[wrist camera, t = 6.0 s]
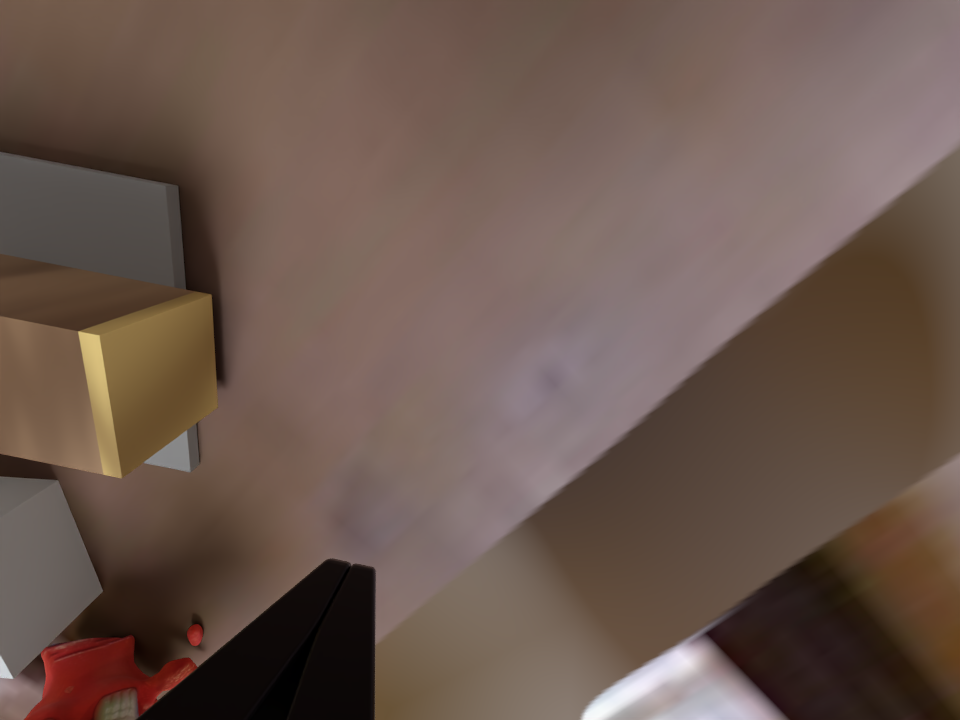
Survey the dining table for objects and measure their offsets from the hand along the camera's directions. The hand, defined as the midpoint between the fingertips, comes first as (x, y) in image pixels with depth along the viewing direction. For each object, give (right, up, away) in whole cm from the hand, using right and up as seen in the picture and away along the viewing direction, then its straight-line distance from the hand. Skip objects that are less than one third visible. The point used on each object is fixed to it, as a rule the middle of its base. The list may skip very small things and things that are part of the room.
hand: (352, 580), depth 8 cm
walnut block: (-7, +3, +5) cm, 9 cm away
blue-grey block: (-17, -2, +9) cm, 19 cm away
